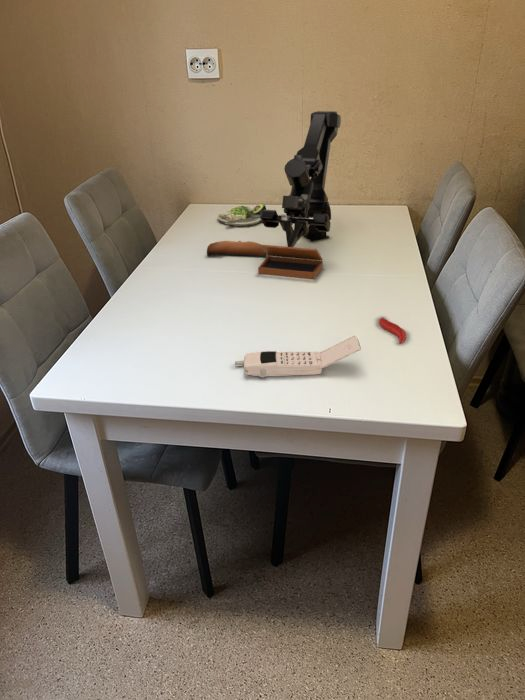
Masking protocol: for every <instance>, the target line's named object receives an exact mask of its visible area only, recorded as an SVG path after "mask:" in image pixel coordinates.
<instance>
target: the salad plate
mask: <svg viewBox="0 0 525 700" xmlns="http://www.w3.org/2000/svg"><path fill="white" fill-rule="evenodd" d="M263 210H267V207H266V205H265V204H264V203H259V204H257V205H256V206H254V207H252V206H247V205H240V206H235V207H233V208H230V209H228V210H225V211H223V212H221V213H218V214H217V220H219V221H220V222H221V223H222V224H224V225H227V226H231V227H249V226H254V225H257V224H261V223H262V221H261V219H260V215H261V212H262V211H263Z"/></svg>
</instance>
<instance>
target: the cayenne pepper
mask: <svg viewBox="0 0 525 700" xmlns="http://www.w3.org/2000/svg"><path fill="white" fill-rule="evenodd" d="M378 324H379V326H380V327H381V328H382V329H384V331H387V332H389V333H391V334H392V335H394V336H396V337H397V338H398V344H403V343H404V342H405V341H406V338H407V333H406V330H405V329H403V328H402V327H401V326H400V325H398V324H397V323H394V322H391V321H389V320H388V319H385V318H384V317H380V318H379V320H378Z"/></svg>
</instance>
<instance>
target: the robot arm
mask: <svg viewBox="0 0 525 700" xmlns="http://www.w3.org/2000/svg"><path fill="white" fill-rule="evenodd" d="M341 116H342V115H340V114H339V113H338V111H336V110H334V111H333V110H332V111H331V110H330V111H328V110H327V111H326V110H317V111H314V112H312V113H310V123H309V128H308V130H307V135H306V137H305V141H304V144H303V147H301V148H300V149H299V150H297V152H296V154H294V156H293V158H291V159H289V160H288V161H287V163H286V164H285V165H284V173H285V176H286V179H287V181H288V183H289V185H290V186H291V188H290V189H291V190H290V193H289V194H288V195H283V196H282V205H281V208H282V209H283V213H284V214H278V212H277V210H276V209H266V210H263V211H262V212H261V215H260V219H261V221H262V222H261V223H262V224H263V227H264V228H270V229H276V228H277V227H279V224H280V227H281V229H282V231H283V232H285V236H286V237H285V238H286V245H287V246H286V247H295V246H296V244H297V243H298V241H300V239H301V238H305V239H306V240H308V241H310V242H318V241H323V240H327V239H329V238H330V236H329V235H327V233H328V232H330V230H331V220H332V209H331V206H330V202H329V198H328V195H327V192H326V189H325V187H326V179H327V172H328V165H329V157H330V151H331V143H332V142H333V140H334V139H335V138H336V137H337V135H338V131H339V129H340V127H341V123H342V117H341ZM293 224H294V227H293Z"/></svg>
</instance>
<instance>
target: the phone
mask: <svg viewBox="0 0 525 700" xmlns="http://www.w3.org/2000/svg"><path fill="white" fill-rule="evenodd" d="M316 267H317V265H312V264H301V263H291V262H280V261H270V262H269V263H268V264H267V265H266V268H276V269H287V270H297V271H307V272H314V270H315V268H316Z"/></svg>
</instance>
